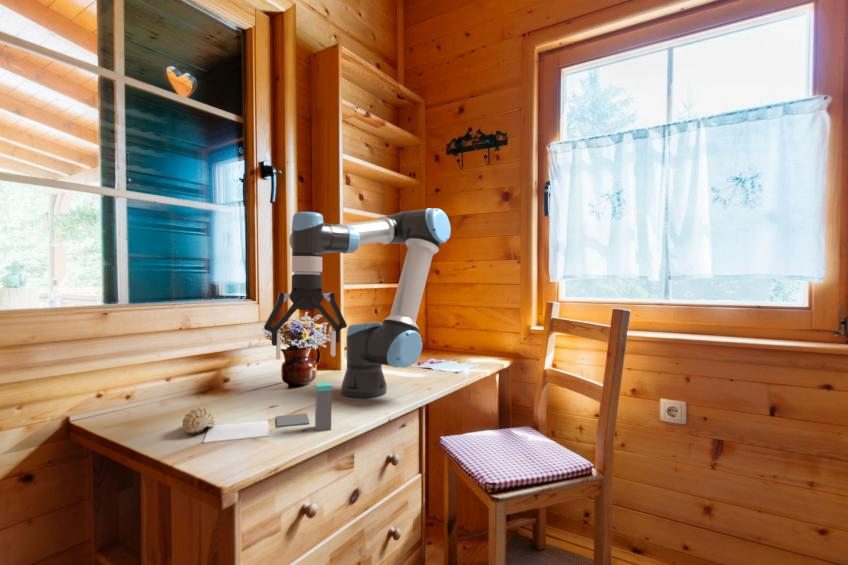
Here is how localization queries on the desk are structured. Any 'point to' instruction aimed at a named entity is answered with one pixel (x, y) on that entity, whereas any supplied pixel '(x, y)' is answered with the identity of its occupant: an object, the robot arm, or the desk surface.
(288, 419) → the coaster
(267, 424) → the paper
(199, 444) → the desk surface
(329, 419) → the marker
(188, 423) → the seashell
